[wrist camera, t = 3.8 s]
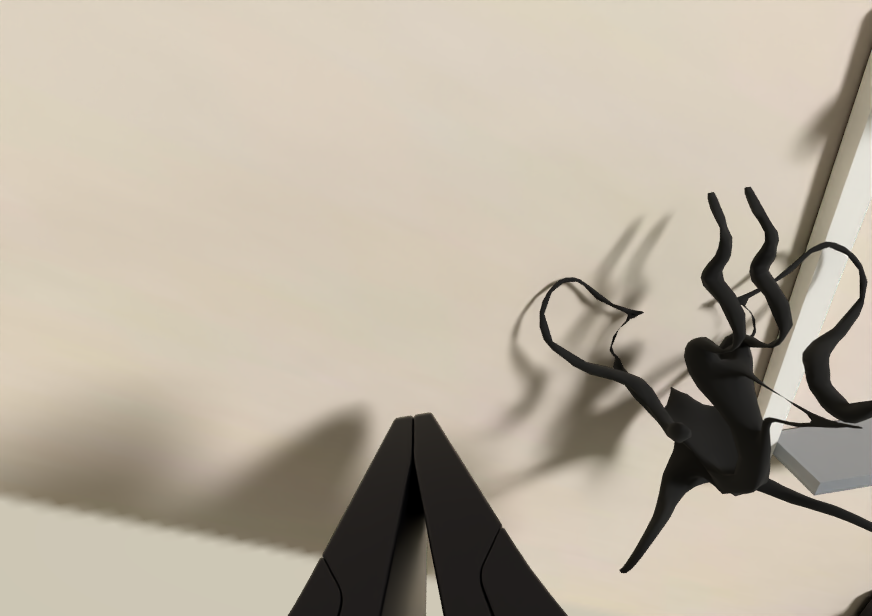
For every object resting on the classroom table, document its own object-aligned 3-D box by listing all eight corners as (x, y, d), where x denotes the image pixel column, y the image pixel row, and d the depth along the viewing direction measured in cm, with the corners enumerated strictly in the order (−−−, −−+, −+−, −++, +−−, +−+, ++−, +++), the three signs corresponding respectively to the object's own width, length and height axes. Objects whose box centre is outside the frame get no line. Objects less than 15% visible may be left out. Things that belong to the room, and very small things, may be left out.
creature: (523, 207, 10) (541, 455, 13) (602, 261, 5) (602, 642, 8) (847, 158, 10) (793, 426, 13) (1270, 167, 5) (1022, 607, 8)
